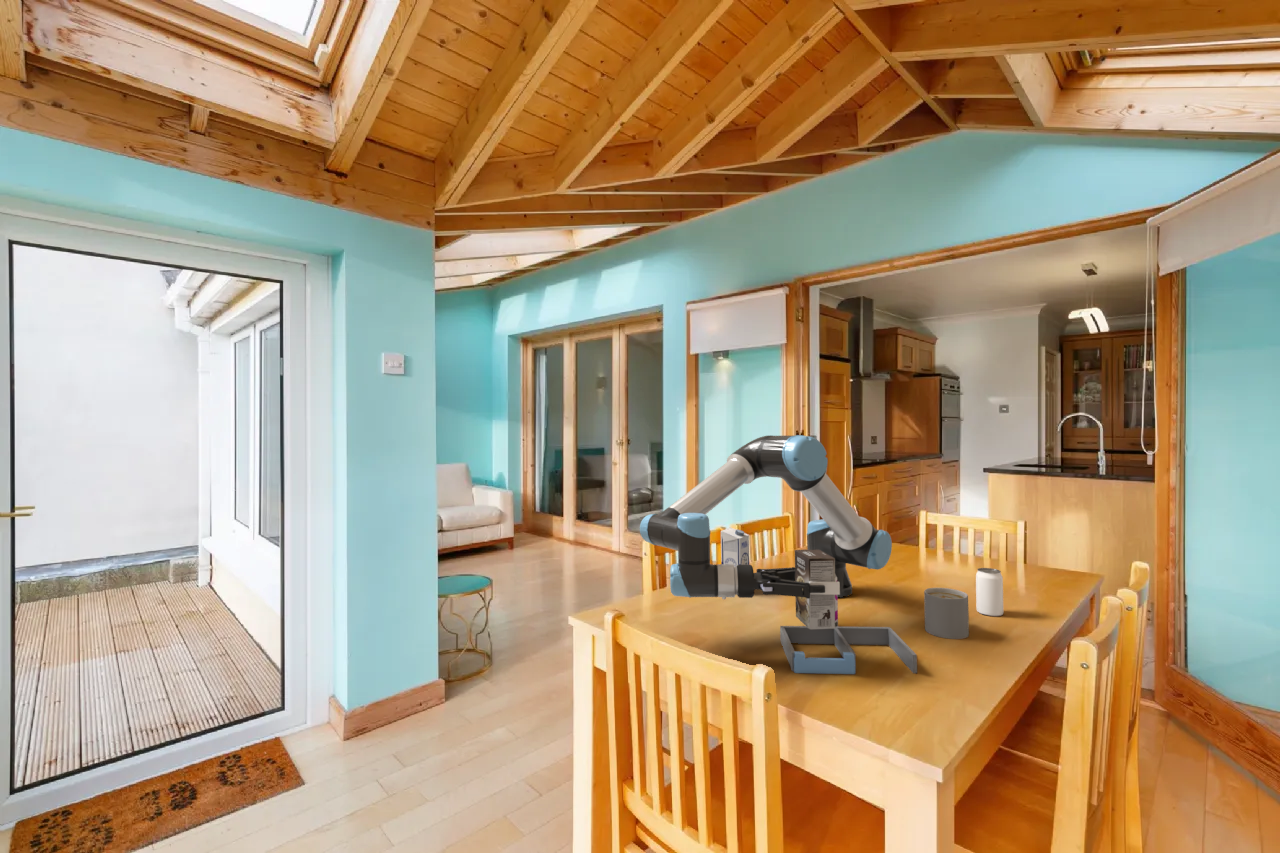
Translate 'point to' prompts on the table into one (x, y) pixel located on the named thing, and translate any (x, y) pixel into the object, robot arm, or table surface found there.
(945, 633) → the coffee mug
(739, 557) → the milk carton
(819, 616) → the coffee box
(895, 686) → the table surface
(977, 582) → the can
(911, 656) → the divider rack
